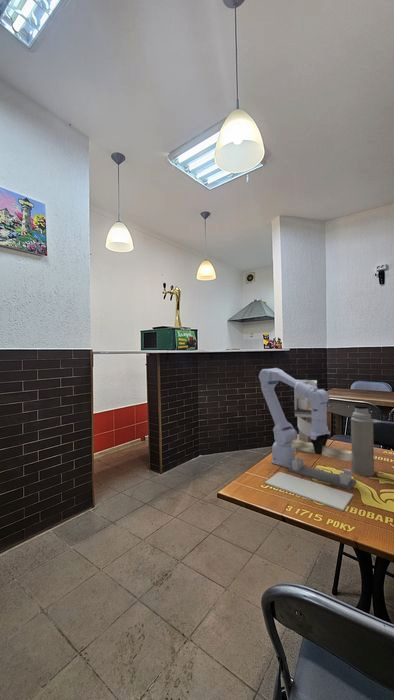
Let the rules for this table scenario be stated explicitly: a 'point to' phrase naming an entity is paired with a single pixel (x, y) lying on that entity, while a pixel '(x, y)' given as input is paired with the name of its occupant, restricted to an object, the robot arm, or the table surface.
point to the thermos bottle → (362, 441)
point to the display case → (304, 415)
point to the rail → (323, 450)
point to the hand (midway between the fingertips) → (319, 452)
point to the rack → (322, 474)
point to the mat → (311, 490)
